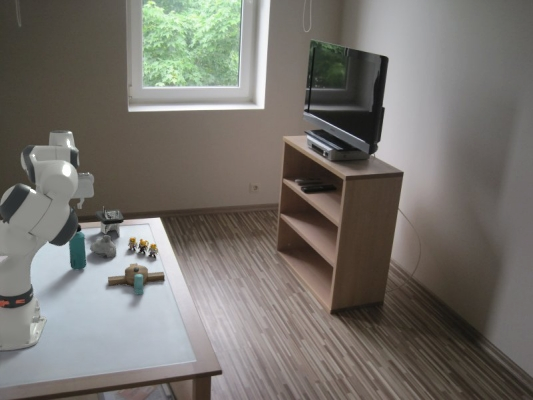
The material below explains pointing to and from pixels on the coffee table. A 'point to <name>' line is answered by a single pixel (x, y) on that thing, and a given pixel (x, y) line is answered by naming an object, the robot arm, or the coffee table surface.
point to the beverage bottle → (77, 250)
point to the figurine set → (143, 247)
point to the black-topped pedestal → (110, 220)
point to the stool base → (133, 271)
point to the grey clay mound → (104, 247)
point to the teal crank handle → (138, 284)
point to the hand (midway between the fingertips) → (66, 209)
